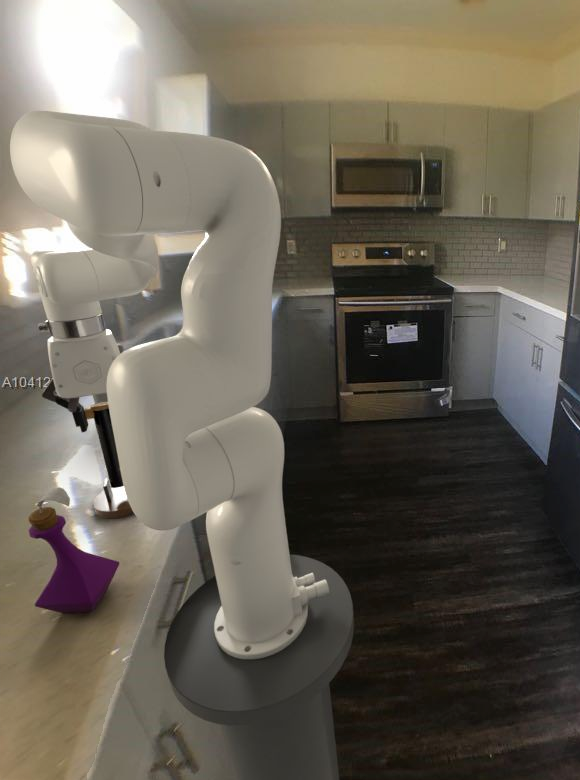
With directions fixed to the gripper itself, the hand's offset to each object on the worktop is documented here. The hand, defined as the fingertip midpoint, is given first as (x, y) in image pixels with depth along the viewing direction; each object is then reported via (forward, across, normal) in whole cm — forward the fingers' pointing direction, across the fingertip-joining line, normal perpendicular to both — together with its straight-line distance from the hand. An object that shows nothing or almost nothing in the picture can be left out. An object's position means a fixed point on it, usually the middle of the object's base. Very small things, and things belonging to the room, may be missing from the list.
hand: (104, 424), depth 82 cm
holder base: (+16, 0, -2) cm, 16 cm away
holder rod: (+5, 0, +2) cm, 5 cm away
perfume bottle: (+15, -4, -26) cm, 30 cm away
